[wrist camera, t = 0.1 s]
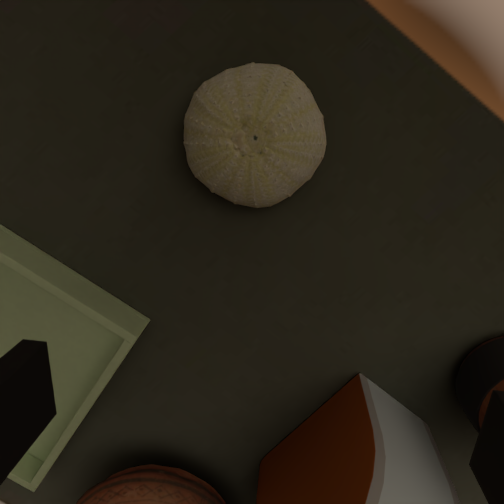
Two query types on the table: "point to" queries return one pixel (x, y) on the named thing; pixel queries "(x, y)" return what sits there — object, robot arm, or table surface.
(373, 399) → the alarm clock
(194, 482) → the bowl
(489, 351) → the mug
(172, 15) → the table surface
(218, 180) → the sea urchin shell
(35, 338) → the tray
